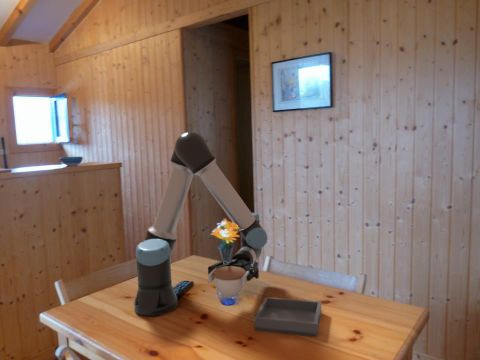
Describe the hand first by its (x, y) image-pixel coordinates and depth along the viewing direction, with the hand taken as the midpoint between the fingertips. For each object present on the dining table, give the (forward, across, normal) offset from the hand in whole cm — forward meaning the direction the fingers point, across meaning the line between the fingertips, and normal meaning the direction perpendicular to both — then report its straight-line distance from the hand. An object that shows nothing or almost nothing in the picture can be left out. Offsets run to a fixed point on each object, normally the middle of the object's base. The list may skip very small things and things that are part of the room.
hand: (225, 280), depth 127 cm
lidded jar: (-4, 0, -6) cm, 8 cm away
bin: (-4, -20, -13) cm, 24 cm away
